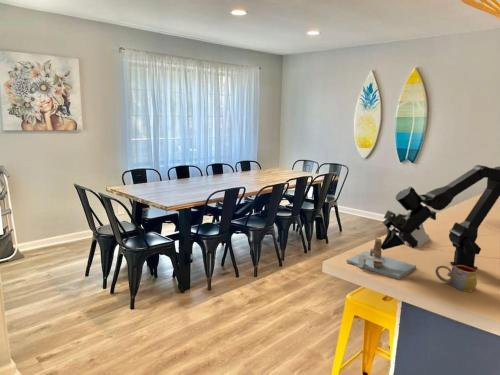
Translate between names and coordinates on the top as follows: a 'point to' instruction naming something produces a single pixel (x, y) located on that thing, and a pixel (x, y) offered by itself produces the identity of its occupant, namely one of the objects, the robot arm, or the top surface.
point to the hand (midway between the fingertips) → (381, 248)
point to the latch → (376, 252)
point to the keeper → (363, 258)
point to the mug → (460, 277)
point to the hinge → (420, 236)
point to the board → (385, 266)
